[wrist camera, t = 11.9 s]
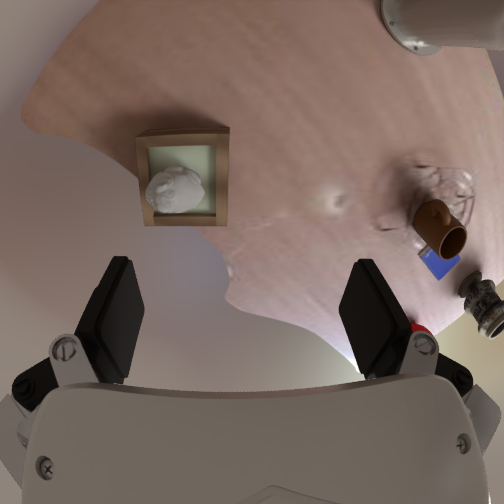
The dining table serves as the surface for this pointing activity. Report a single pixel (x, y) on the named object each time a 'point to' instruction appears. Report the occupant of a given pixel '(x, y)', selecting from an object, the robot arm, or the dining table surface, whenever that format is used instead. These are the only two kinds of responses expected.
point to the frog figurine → (175, 190)
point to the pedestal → (195, 158)
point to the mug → (440, 229)
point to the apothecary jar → (483, 304)
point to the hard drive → (437, 262)
